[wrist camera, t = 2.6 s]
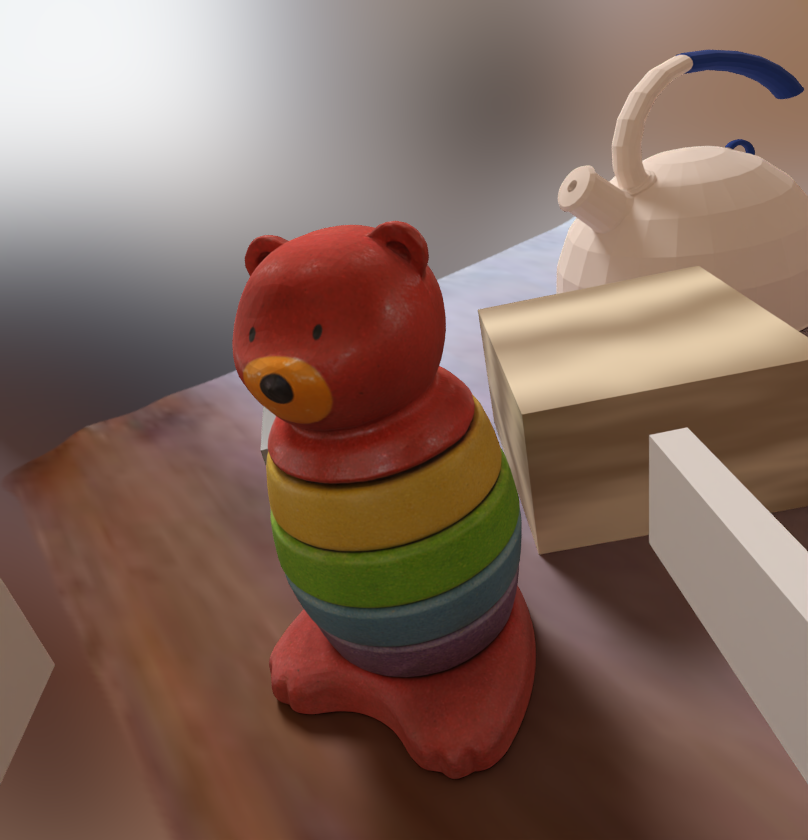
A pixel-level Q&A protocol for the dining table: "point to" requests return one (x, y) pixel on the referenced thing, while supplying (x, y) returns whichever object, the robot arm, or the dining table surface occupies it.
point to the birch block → (641, 398)
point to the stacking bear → (385, 498)
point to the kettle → (691, 204)
